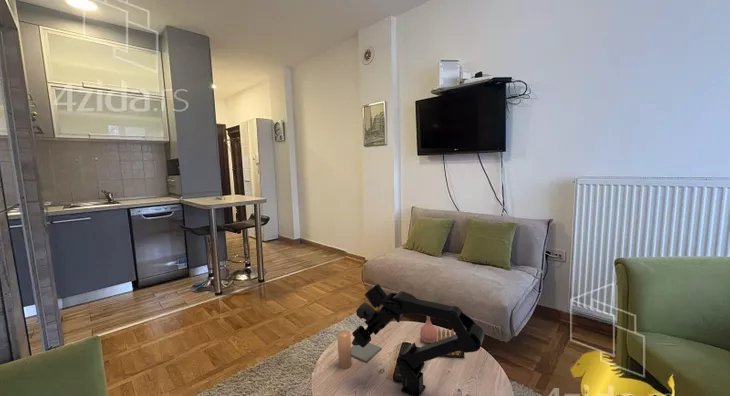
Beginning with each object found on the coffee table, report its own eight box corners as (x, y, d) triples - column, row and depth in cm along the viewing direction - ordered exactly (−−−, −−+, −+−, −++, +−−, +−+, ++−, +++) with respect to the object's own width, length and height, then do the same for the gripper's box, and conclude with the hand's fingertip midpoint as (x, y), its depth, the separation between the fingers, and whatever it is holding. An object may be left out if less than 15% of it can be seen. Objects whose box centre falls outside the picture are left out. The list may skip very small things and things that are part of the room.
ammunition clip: (437, 357, 123) (437, 329, 122) (437, 354, 125) (436, 326, 124) (464, 358, 122) (464, 330, 120) (463, 355, 123) (463, 328, 122)
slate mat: (381, 349, 130) (381, 347, 130) (366, 362, 121) (366, 361, 121) (361, 341, 137) (361, 339, 137) (345, 353, 128) (345, 352, 128)
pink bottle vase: (432, 335, 139) (432, 310, 138) (440, 344, 132) (440, 318, 131) (417, 338, 137) (416, 313, 136) (424, 347, 130) (424, 321, 129)
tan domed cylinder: (354, 363, 121) (353, 332, 120) (346, 370, 117) (344, 339, 116) (344, 359, 125) (343, 329, 123) (336, 365, 120) (334, 335, 119)
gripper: (381, 289, 120) (358, 310, 126) (355, 309, 104) (331, 332, 110) (399, 312, 116) (375, 333, 123) (376, 336, 100) (350, 358, 107)
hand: (359, 337), depth 116 cm, fingers open, 9 cm apart
